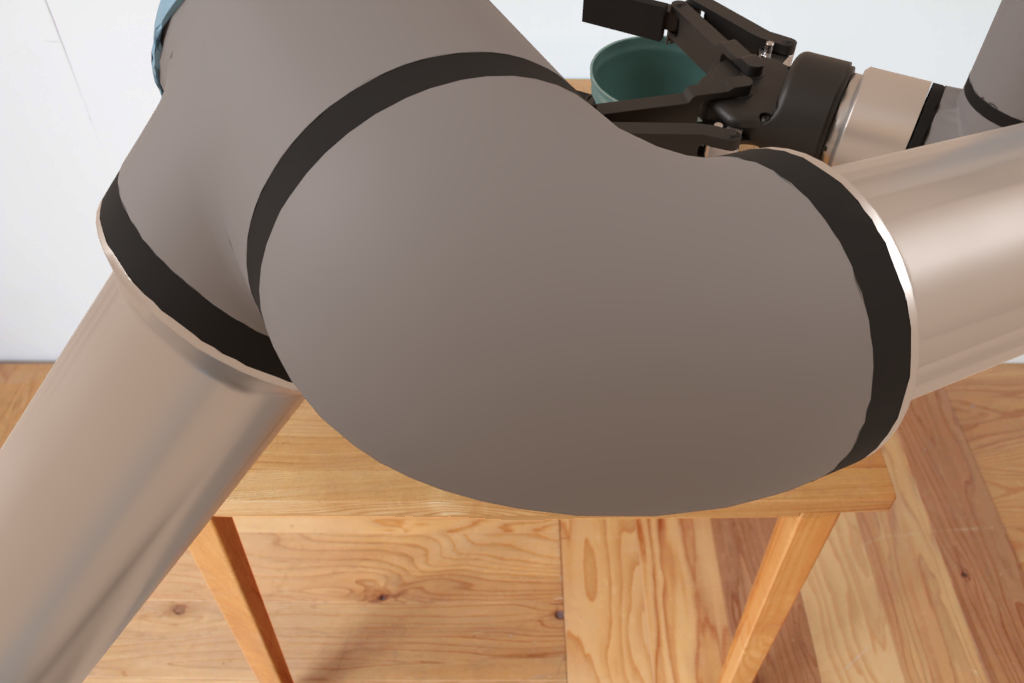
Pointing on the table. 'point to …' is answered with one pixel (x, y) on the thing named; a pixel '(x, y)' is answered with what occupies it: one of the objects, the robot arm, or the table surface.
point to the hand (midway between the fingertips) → (545, 43)
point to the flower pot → (641, 70)
